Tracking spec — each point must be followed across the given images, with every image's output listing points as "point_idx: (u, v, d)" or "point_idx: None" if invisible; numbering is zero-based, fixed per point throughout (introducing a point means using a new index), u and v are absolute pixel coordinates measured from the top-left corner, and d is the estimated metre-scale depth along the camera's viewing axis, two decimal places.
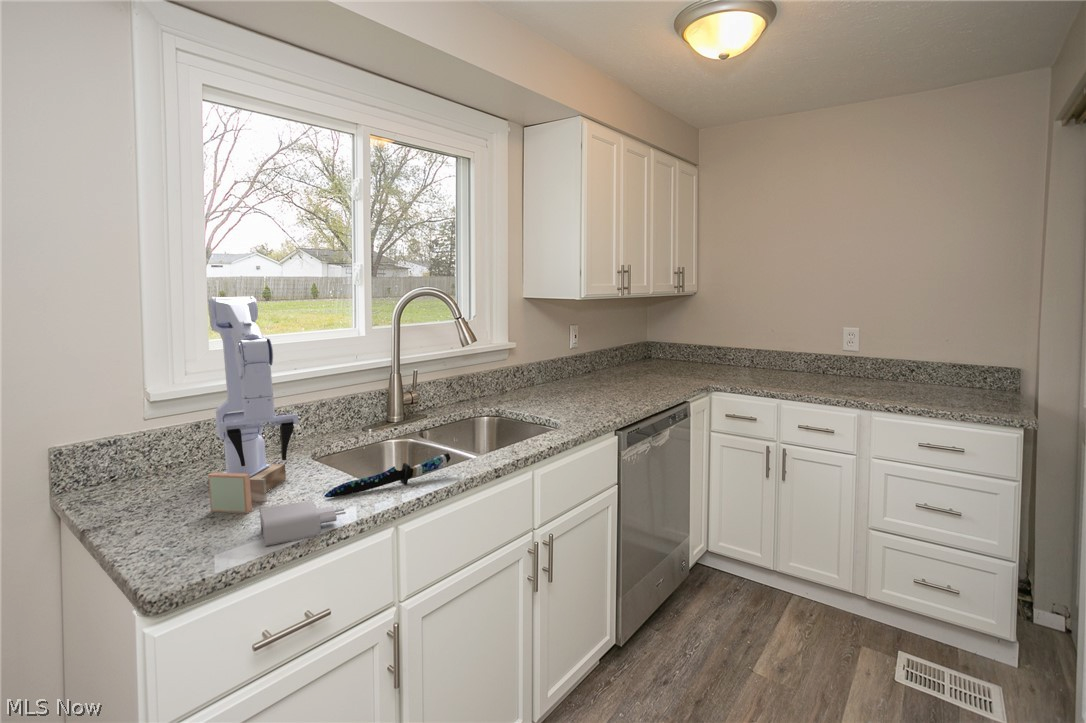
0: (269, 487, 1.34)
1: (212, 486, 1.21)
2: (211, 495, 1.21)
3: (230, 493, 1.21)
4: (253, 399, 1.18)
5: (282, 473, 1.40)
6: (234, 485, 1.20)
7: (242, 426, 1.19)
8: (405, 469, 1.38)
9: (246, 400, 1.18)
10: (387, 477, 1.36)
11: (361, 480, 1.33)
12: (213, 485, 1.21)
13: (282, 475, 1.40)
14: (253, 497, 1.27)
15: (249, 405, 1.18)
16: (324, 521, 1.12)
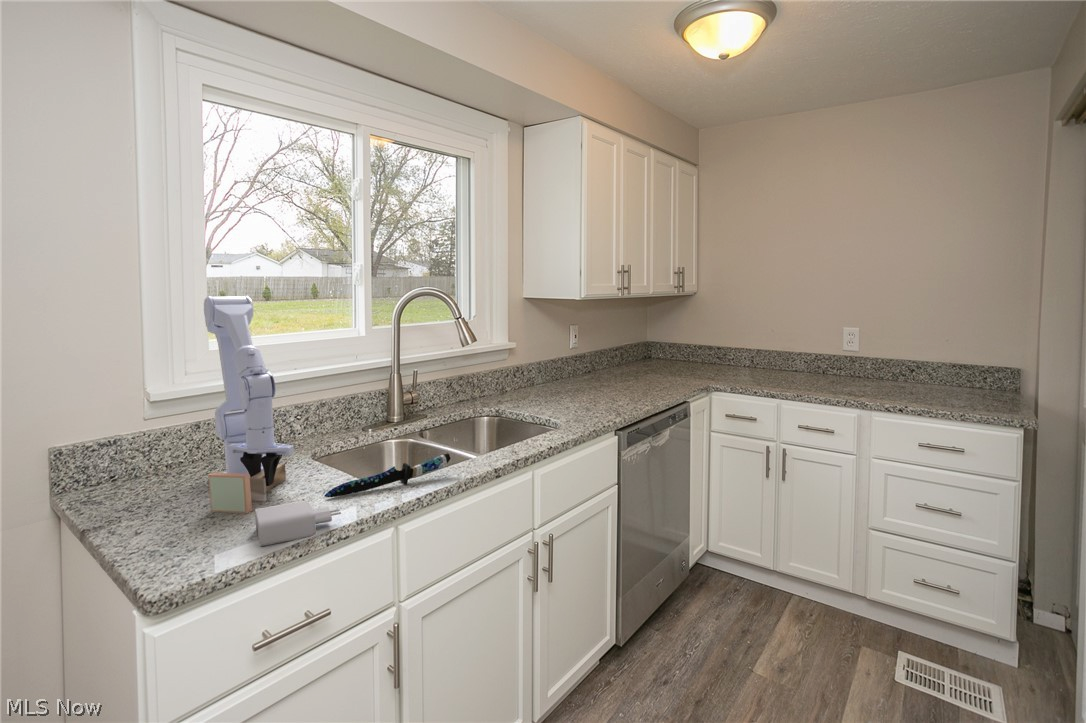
0: (269, 487, 1.34)
1: (212, 486, 1.21)
2: (211, 495, 1.21)
3: (230, 493, 1.21)
4: (248, 430, 1.29)
5: (282, 473, 1.40)
6: (234, 485, 1.20)
7: None
8: (405, 469, 1.38)
9: (245, 429, 1.30)
10: (387, 477, 1.36)
11: (361, 480, 1.33)
12: (213, 485, 1.21)
13: (282, 475, 1.40)
14: (253, 497, 1.27)
15: (246, 435, 1.30)
16: (319, 521, 1.12)
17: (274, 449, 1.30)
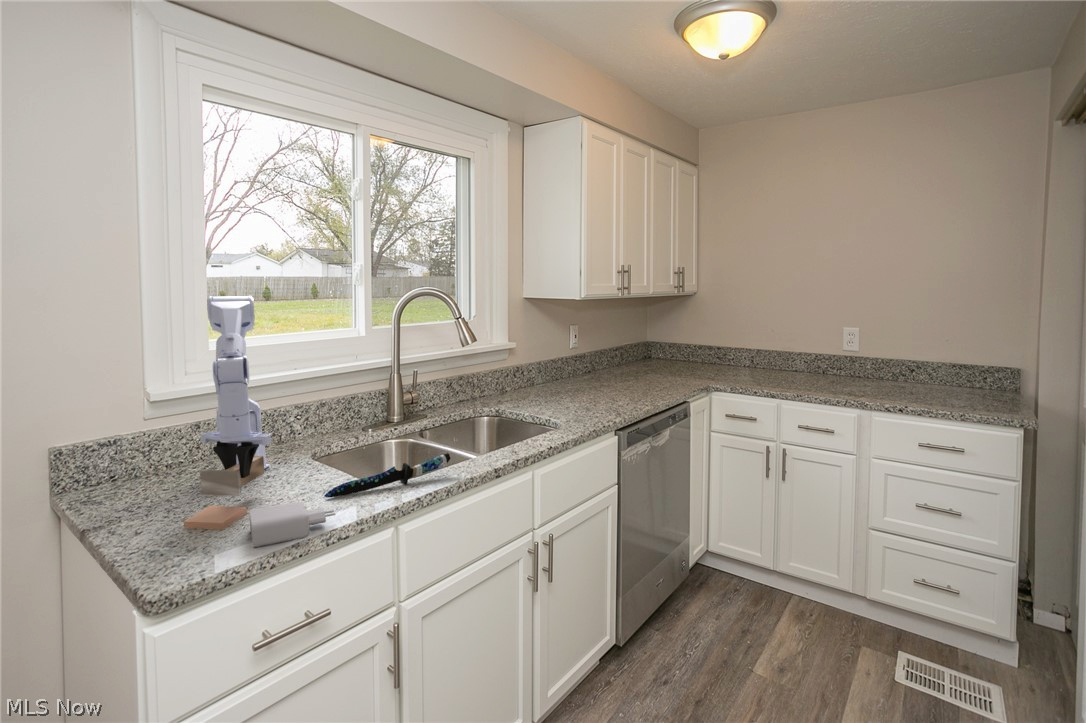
0: (245, 480, 1.25)
1: None
2: None
3: None
4: (222, 417, 1.20)
5: (260, 466, 1.30)
6: None
7: None
8: (405, 469, 1.38)
9: (219, 417, 1.21)
10: (387, 477, 1.36)
11: (361, 480, 1.33)
12: None
13: (260, 468, 1.30)
14: (226, 491, 1.18)
15: (220, 422, 1.21)
16: (313, 522, 1.12)
17: (249, 438, 1.21)
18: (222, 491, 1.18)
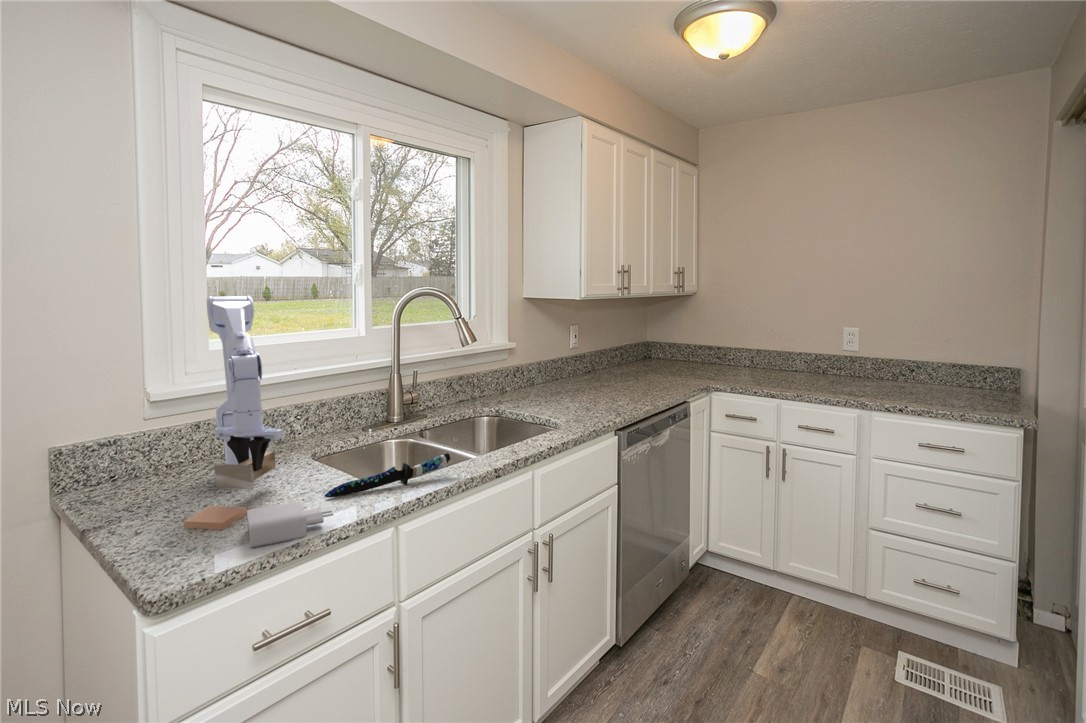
0: (257, 474, 1.29)
1: None
2: None
3: None
4: (235, 413, 1.25)
5: (271, 460, 1.35)
6: None
7: (233, 434, 1.28)
8: (405, 469, 1.38)
9: None
10: (387, 477, 1.36)
11: (361, 481, 1.33)
12: None
13: (271, 462, 1.35)
14: (240, 484, 1.23)
15: (233, 418, 1.25)
16: (311, 523, 1.11)
17: (262, 433, 1.26)
18: (235, 484, 1.23)
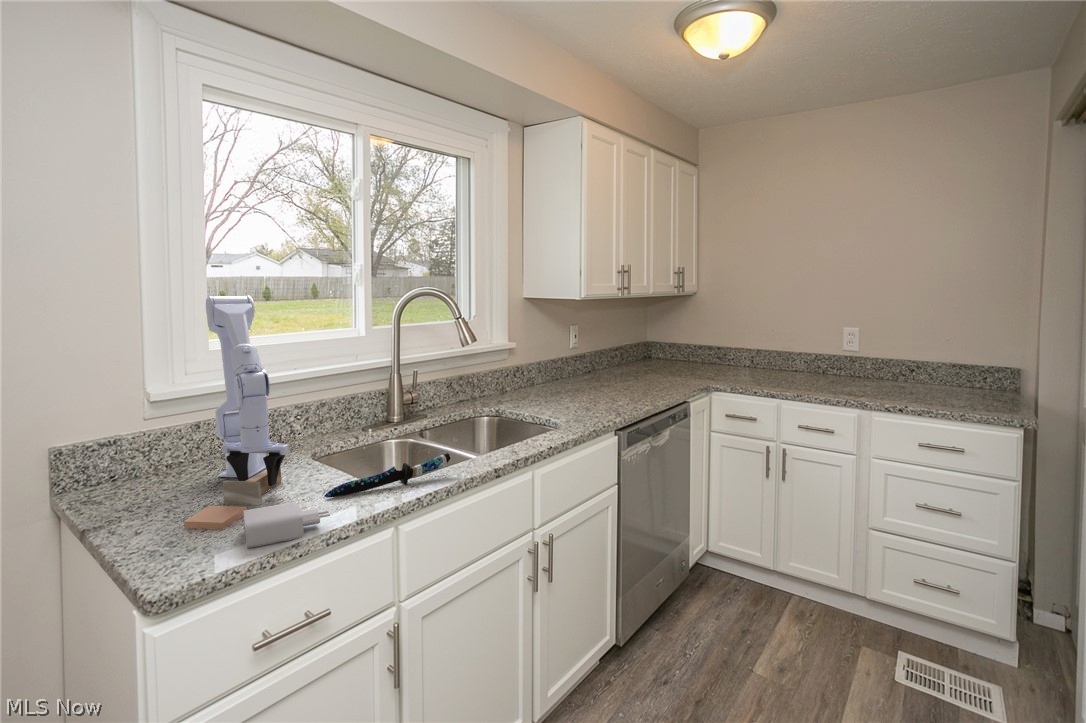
0: (264, 490, 1.32)
1: None
2: None
3: None
4: (243, 429, 1.27)
5: (277, 476, 1.38)
6: None
7: None
8: (405, 469, 1.38)
9: (240, 428, 1.28)
10: (387, 477, 1.36)
11: (361, 481, 1.33)
12: None
13: (277, 478, 1.38)
14: (248, 500, 1.25)
15: (241, 433, 1.28)
16: (307, 523, 1.11)
17: (269, 448, 1.28)
18: (243, 501, 1.25)
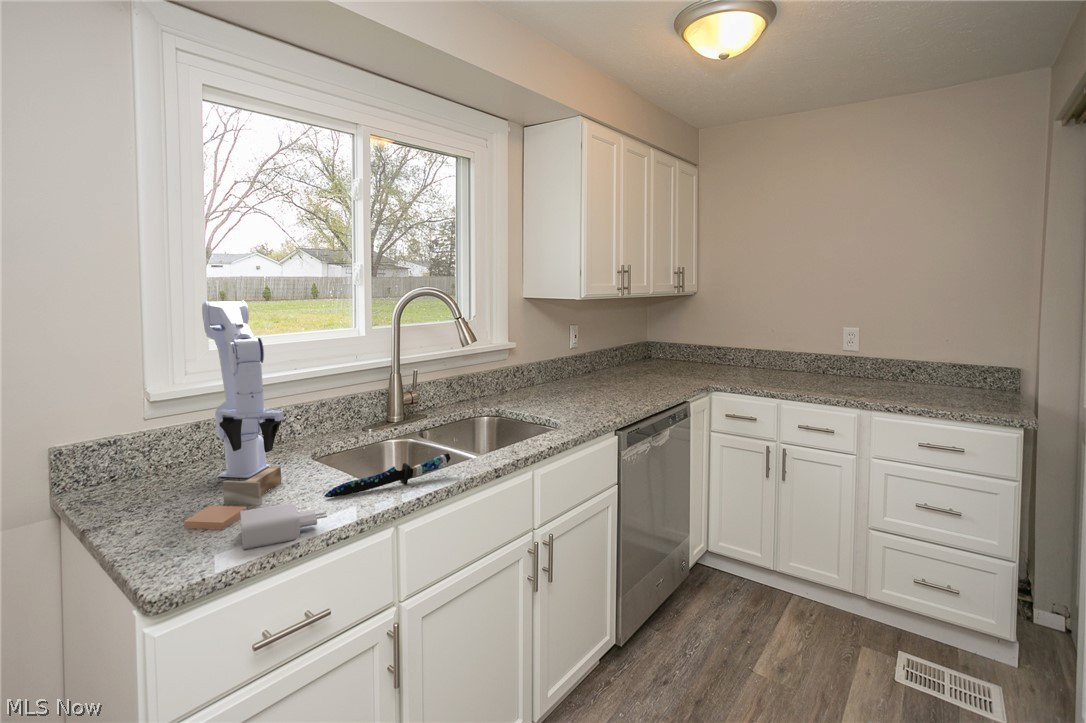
0: (264, 490, 1.32)
1: None
2: None
3: None
4: (237, 395, 1.28)
5: (277, 476, 1.38)
6: None
7: (235, 416, 1.32)
8: (405, 469, 1.38)
9: (235, 394, 1.29)
10: (387, 477, 1.36)
11: (361, 480, 1.33)
12: None
13: (277, 478, 1.38)
14: (248, 501, 1.25)
15: (235, 399, 1.29)
16: (304, 525, 1.11)
17: (263, 414, 1.30)
18: (243, 501, 1.25)
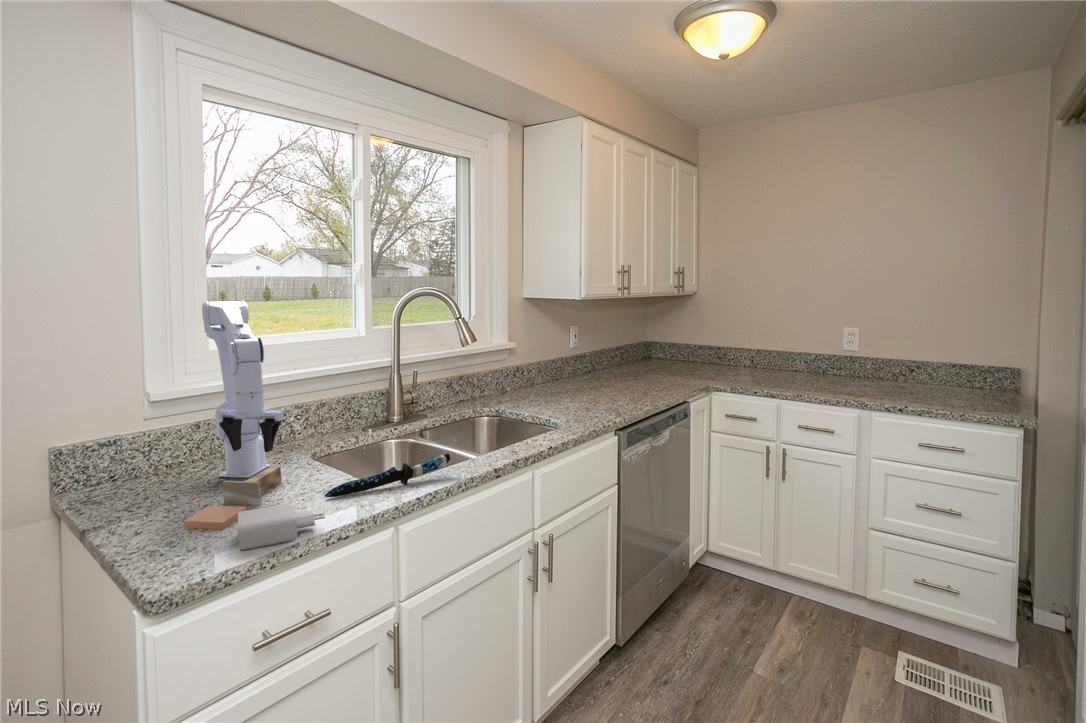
0: (264, 490, 1.32)
1: None
2: None
3: None
4: (237, 395, 1.28)
5: (277, 476, 1.38)
6: None
7: (235, 416, 1.32)
8: (405, 469, 1.38)
9: (235, 394, 1.29)
10: (387, 477, 1.36)
11: (361, 480, 1.33)
12: None
13: (277, 478, 1.38)
14: (248, 501, 1.25)
15: (235, 399, 1.29)
16: (302, 526, 1.10)
17: (263, 414, 1.29)
18: (243, 501, 1.25)
